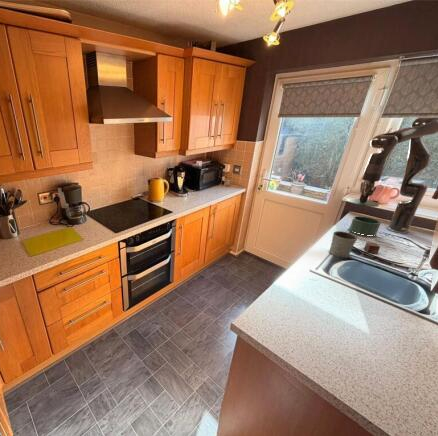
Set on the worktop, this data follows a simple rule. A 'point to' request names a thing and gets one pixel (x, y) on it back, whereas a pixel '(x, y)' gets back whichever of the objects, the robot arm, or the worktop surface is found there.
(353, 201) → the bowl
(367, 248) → the block
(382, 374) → the worktop surface
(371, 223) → the tin
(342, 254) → the grey cup
